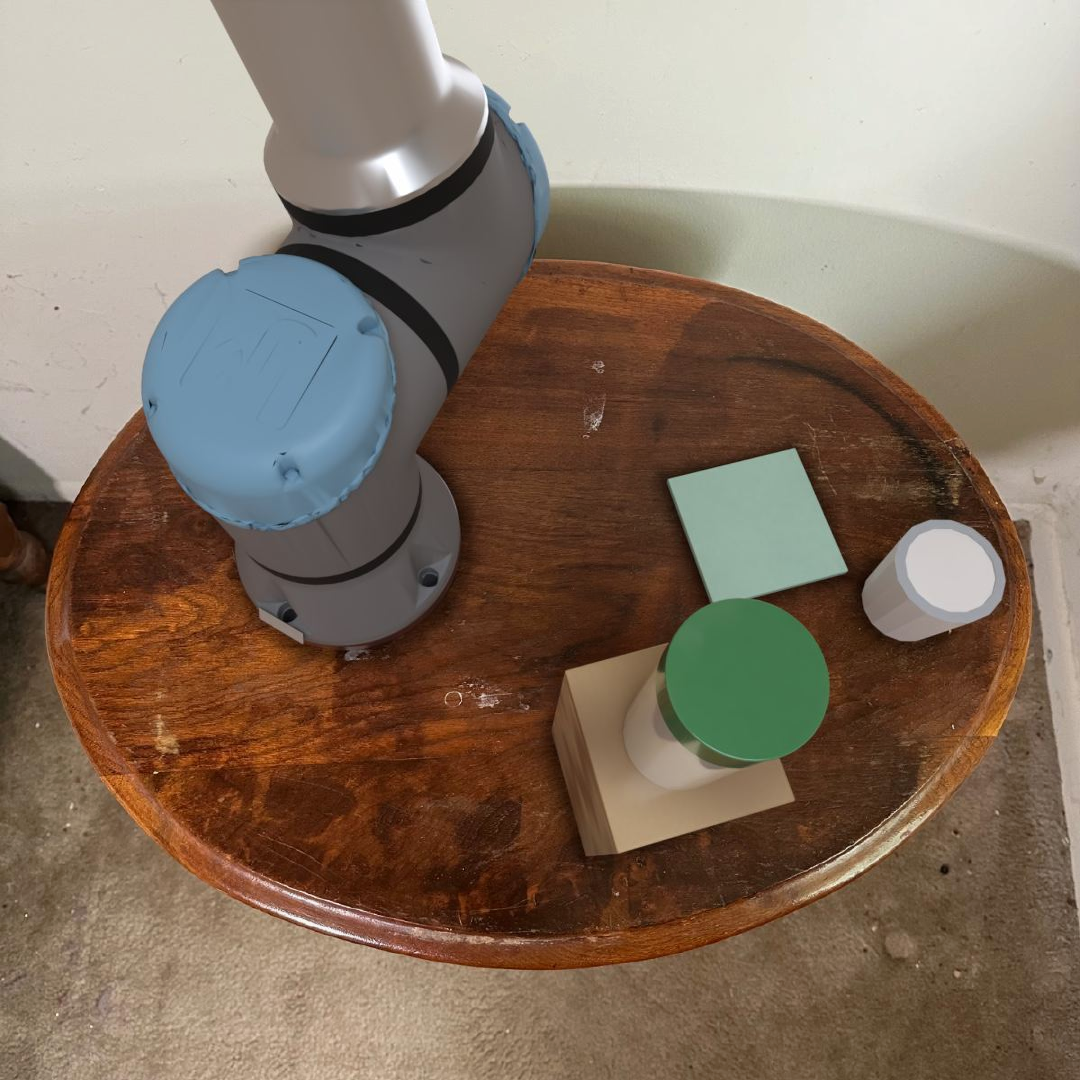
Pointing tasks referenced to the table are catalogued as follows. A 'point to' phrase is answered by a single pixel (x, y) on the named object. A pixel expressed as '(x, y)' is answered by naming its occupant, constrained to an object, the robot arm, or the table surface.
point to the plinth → (614, 782)
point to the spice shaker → (727, 695)
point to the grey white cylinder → (934, 582)
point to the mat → (755, 527)
